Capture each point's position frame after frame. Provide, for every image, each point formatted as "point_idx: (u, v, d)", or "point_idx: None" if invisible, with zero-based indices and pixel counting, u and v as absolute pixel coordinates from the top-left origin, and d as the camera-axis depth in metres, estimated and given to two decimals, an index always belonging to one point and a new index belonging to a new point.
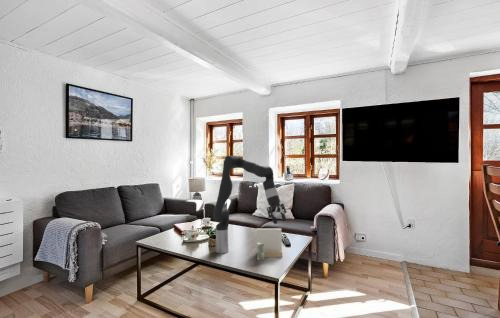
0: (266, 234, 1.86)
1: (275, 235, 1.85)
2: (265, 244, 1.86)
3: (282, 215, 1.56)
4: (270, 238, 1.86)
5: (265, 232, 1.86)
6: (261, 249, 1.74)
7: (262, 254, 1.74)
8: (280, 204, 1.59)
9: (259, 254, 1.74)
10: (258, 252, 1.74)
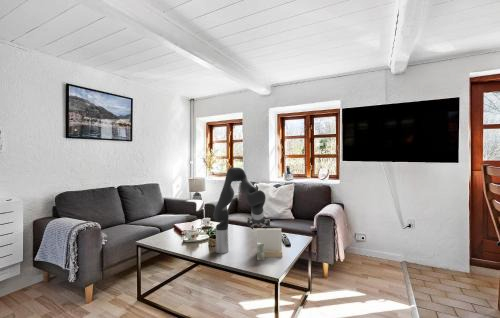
0: (266, 234, 1.86)
1: (275, 235, 1.85)
2: (265, 244, 1.86)
3: None
4: (270, 238, 1.86)
5: (265, 232, 1.86)
6: (261, 249, 1.74)
7: (262, 254, 1.74)
8: (267, 218, 1.57)
9: (259, 254, 1.74)
10: (258, 252, 1.74)
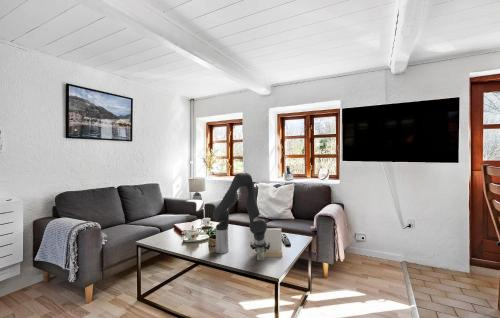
0: (266, 234, 1.86)
1: (275, 235, 1.85)
2: None
3: (264, 248, 1.75)
4: (270, 238, 1.86)
5: (265, 232, 1.86)
6: (261, 249, 1.74)
7: (262, 254, 1.74)
8: (269, 243, 1.70)
9: (259, 254, 1.74)
10: (258, 252, 1.74)
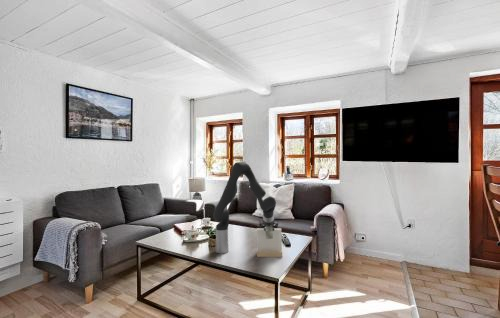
0: None
1: (275, 235, 1.85)
2: (265, 244, 1.86)
3: None
4: None
5: (265, 232, 1.86)
6: (269, 228, 1.81)
7: (270, 233, 1.81)
8: (277, 221, 1.78)
9: (267, 233, 1.82)
10: (267, 231, 1.82)
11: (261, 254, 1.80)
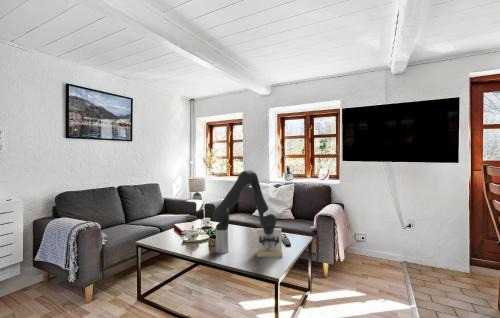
0: None
1: (275, 235, 1.85)
2: (265, 244, 1.86)
3: None
4: None
5: None
6: (270, 245, 1.81)
7: (271, 250, 1.81)
8: (277, 236, 1.77)
9: (267, 250, 1.82)
10: (267, 248, 1.81)
11: (261, 254, 1.80)
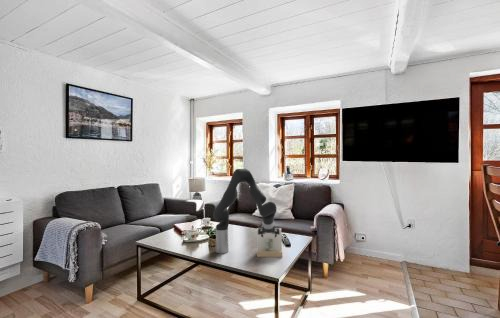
0: (266, 234, 1.86)
1: None
2: (265, 244, 1.86)
3: None
4: (270, 238, 1.86)
5: None
6: (270, 245, 1.81)
7: (271, 250, 1.81)
8: (277, 227, 1.64)
9: (267, 250, 1.82)
10: (267, 248, 1.81)
11: (261, 254, 1.80)
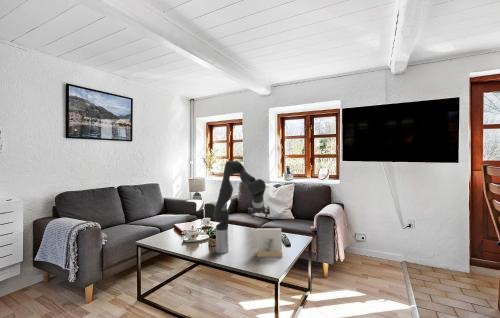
0: (266, 234, 1.86)
1: (275, 235, 1.85)
2: (265, 244, 1.86)
3: (265, 213, 1.68)
4: (270, 238, 1.86)
5: (265, 232, 1.86)
6: (270, 245, 1.81)
7: (271, 250, 1.81)
8: (267, 207, 1.63)
9: (267, 250, 1.82)
10: (267, 248, 1.81)
11: (261, 254, 1.80)
